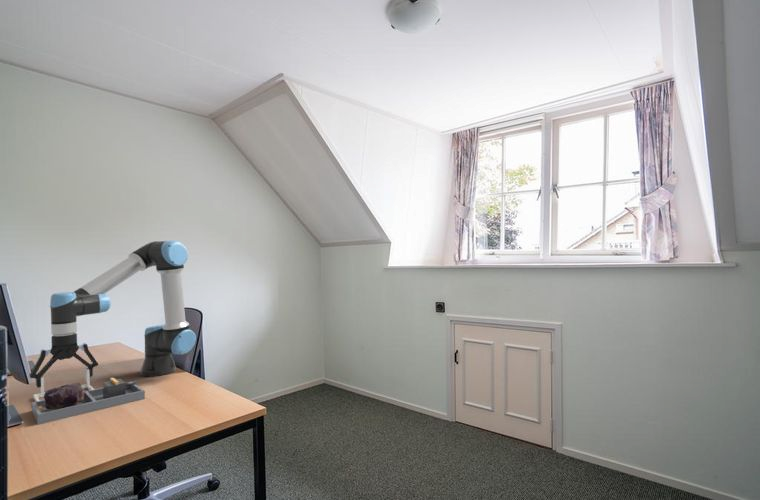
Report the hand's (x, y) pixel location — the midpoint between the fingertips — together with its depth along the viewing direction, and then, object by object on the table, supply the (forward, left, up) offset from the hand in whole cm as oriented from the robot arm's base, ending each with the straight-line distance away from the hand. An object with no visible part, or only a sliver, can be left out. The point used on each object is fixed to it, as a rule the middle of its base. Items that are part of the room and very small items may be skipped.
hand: (65, 390), depth 151 cm
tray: (-3, -18, -7) cm, 20 cm away
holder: (-8, 0, -7) cm, 11 cm away
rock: (+1, 0, -6) cm, 6 cm away
